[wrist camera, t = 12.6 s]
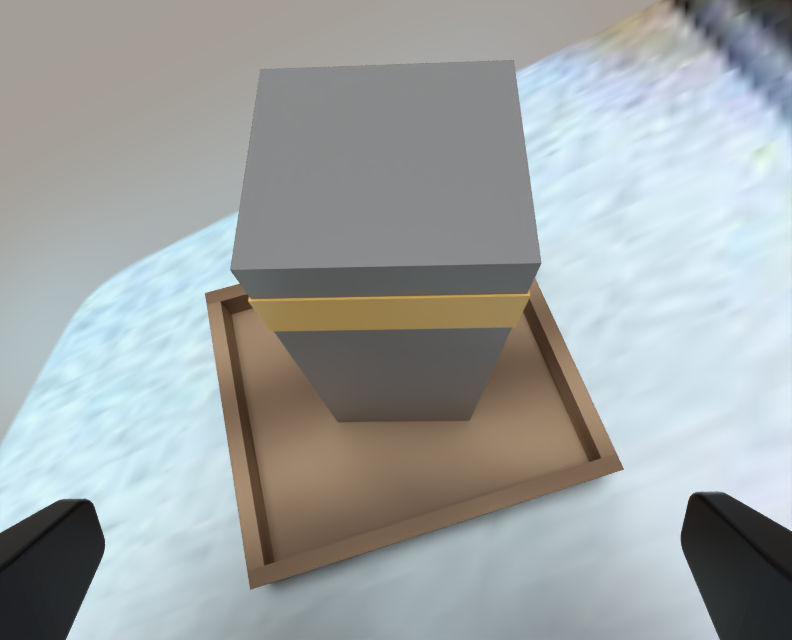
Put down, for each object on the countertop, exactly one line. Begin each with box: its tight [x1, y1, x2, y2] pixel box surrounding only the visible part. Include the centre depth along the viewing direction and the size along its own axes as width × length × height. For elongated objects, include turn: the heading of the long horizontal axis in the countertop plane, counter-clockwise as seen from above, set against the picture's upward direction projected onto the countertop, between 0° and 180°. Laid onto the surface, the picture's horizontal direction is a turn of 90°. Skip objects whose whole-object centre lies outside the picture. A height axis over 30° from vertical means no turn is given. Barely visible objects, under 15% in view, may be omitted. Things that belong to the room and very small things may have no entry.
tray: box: [205, 278, 624, 590], centre depth 21 cm, size 12×14×2 cm
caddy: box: [230, 60, 541, 422], centre depth 16 cm, size 5×6×13 cm
